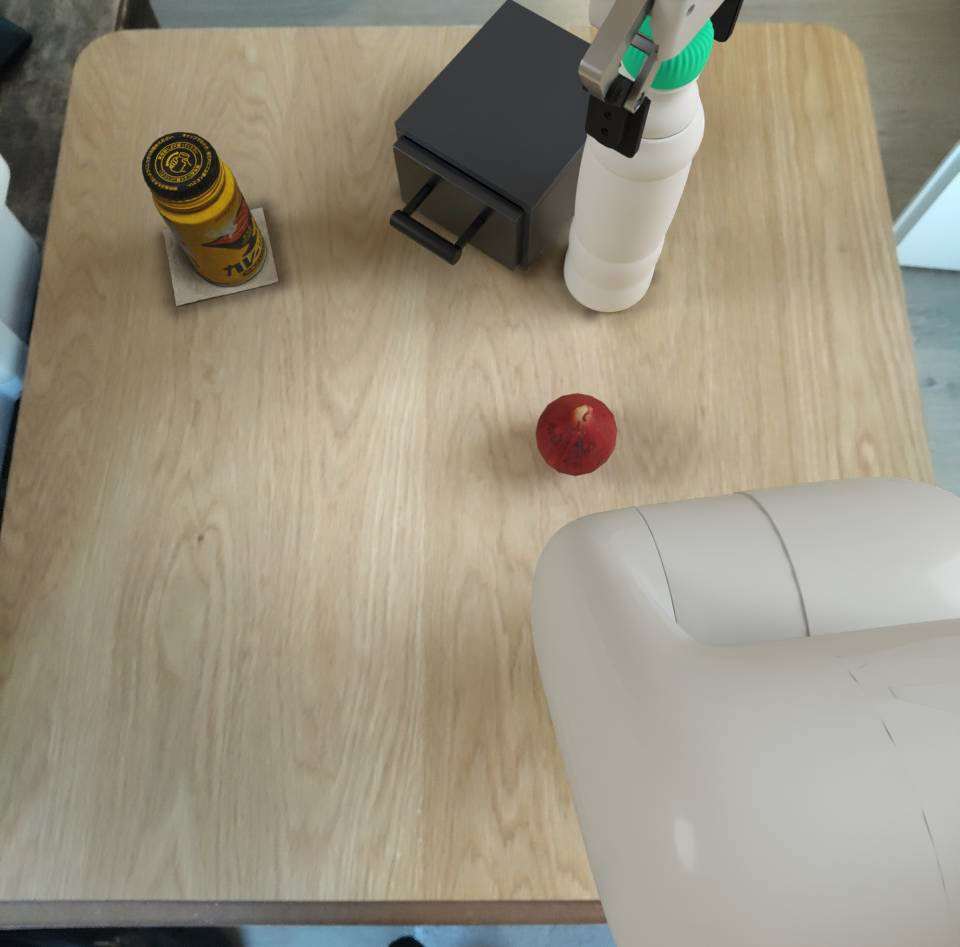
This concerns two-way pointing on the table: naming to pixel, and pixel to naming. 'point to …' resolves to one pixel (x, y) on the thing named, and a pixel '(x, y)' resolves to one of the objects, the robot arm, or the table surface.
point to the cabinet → (511, 118)
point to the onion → (576, 434)
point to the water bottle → (636, 184)
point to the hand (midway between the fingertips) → (658, 84)
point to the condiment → (206, 221)
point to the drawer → (454, 208)
